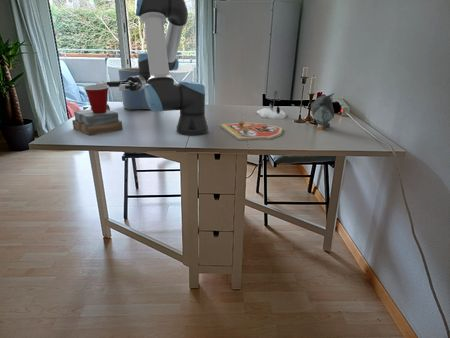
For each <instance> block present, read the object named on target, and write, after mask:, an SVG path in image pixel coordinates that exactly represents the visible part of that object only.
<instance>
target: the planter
mask: <svg viewBox="0 0 450 338" xmlns="http://www.w3.org/2000/svg"><path fill="white" fill-rule="evenodd" d="M117 70H118V78H119V81H124V80H127V78H128V77H131V76H139V67H122V68H121V67H120V68H118V69H117ZM121 83H122V82H121ZM120 92H121V98H122V99H121V101H122V105H123V107H124V108H126V109H127V110H128V111H129V110H151V109H150V108H149V106H148V104H147V101H146V97H145V90H144V89H142V90H140V91H139V90H137V91H130V90H124V91H120Z"/></svg>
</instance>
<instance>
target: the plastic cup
mask: <svg viewBox="0 0 450 338" xmlns="http://www.w3.org/2000/svg"><path fill="white" fill-rule="evenodd" d="M109 88H110V87H109V86H108V85H102V84H99V85H96V84H90V85H85V86H83V89H84V91H85V94H86V95H87V99H88V101H89V105H90V109H91V108H92V111H93V113H105V112H106V109H107V104H108V95H109Z"/></svg>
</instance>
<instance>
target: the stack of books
mask: <svg viewBox="0 0 450 338" xmlns="http://www.w3.org/2000/svg"><path fill="white" fill-rule="evenodd" d="M73 114H74V119H72V120H71V121H72V127H73V130H76V131H78V132H80V133H82V134H85V135H88V136H89V137H90V136H94V135H100V134H101V135H102V134H107V133H112V132H116V131H117V132H118V131H121V130H122V131H123V130H124V129H123V121H122V120H119V112H116V111H113V110H111V109H110V110H107V109H106V112H105V113H93V111H92V110H91V109H84V110H78V111H74V112H73Z"/></svg>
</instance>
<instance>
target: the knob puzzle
mask: <svg viewBox="0 0 450 338" xmlns="http://www.w3.org/2000/svg"><path fill="white" fill-rule="evenodd" d="M218 126H219V127H220V128H221V129H222V130H223V131H225V132H227V133H226V134H229V135H230V136H232V137H233V138H235V140H237V141H248V140H249V141H250V140H272V139H275V138H277V137H280V136H281V135H282V134H283V127H280V126H277V125H272V124H268V123H261V122H259V123H258V122H249V121H248V122H247V121H244V120H239V121H238V122H235V123H233V122H232V123H231V122H230V123H219V125H218Z"/></svg>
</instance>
